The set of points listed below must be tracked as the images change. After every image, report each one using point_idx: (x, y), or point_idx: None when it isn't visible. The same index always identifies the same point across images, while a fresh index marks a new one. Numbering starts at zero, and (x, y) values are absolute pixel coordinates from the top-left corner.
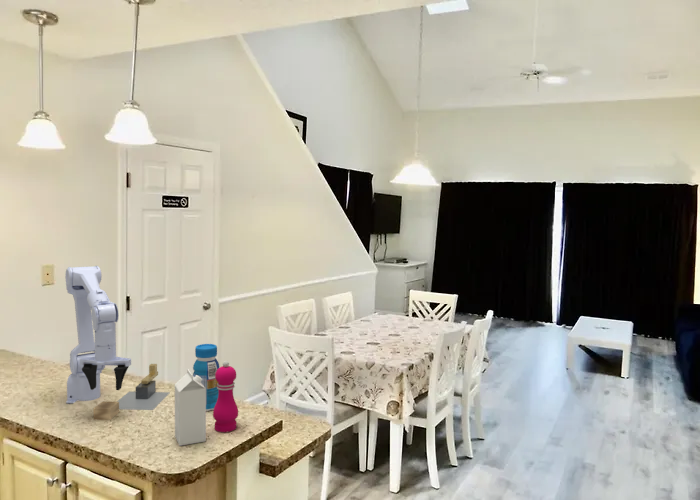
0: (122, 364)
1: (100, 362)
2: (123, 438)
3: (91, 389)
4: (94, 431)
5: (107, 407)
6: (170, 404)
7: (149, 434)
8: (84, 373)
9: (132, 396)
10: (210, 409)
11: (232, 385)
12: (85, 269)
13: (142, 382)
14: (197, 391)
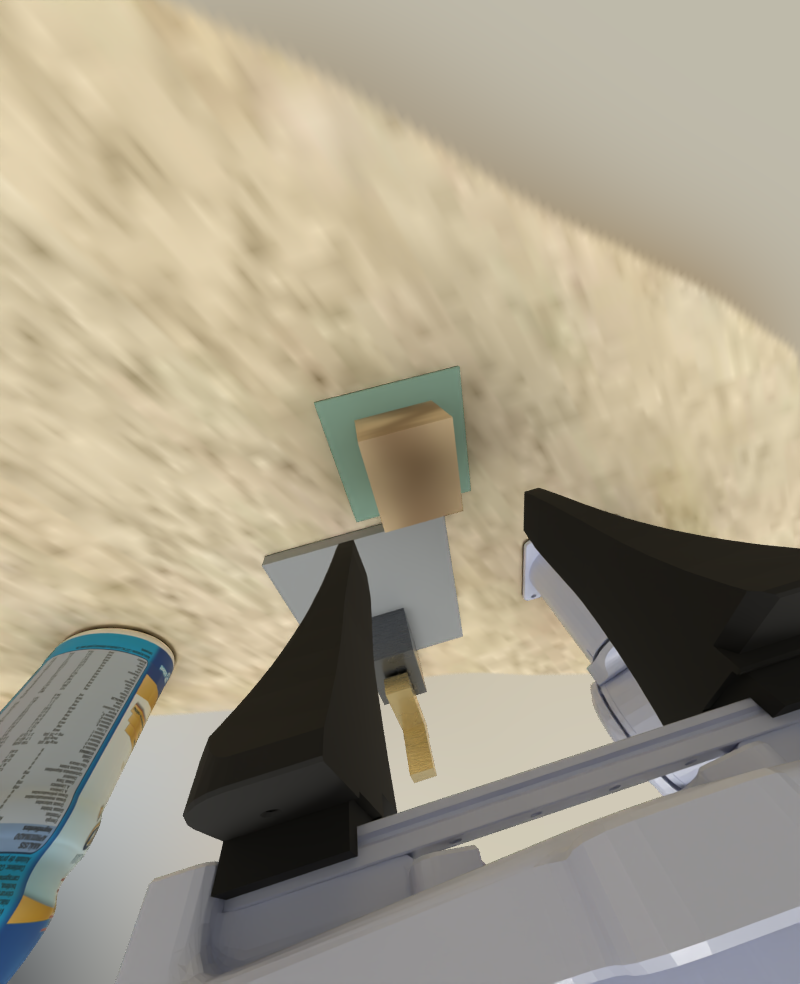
0: (282, 883)
1: (744, 936)
2: (109, 243)
3: (534, 489)
4: (357, 301)
5: (388, 455)
6: (271, 626)
7: (25, 351)
8: (728, 541)
9: (428, 616)
10: (56, 647)
11: None
12: None
13: (403, 680)
14: None
